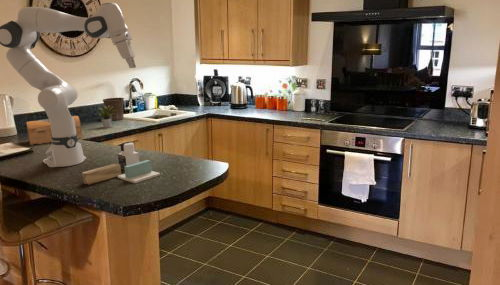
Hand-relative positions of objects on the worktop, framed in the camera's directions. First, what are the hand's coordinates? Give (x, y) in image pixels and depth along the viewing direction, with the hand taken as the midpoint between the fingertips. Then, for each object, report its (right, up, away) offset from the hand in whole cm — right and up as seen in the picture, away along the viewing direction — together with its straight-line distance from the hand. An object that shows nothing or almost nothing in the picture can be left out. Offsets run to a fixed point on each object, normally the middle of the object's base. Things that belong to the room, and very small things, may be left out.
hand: (133, 67), depth 193 cm
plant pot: (-52, -16, +139) cm, 150 cm away
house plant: (-48, -24, +106) cm, 119 cm away
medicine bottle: (-3, -46, +6) cm, 47 cm away
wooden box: (-69, -33, +73) cm, 106 cm away
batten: (-10, -50, -10) cm, 52 cm away
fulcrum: (+5, -49, -9) cm, 50 cm away
